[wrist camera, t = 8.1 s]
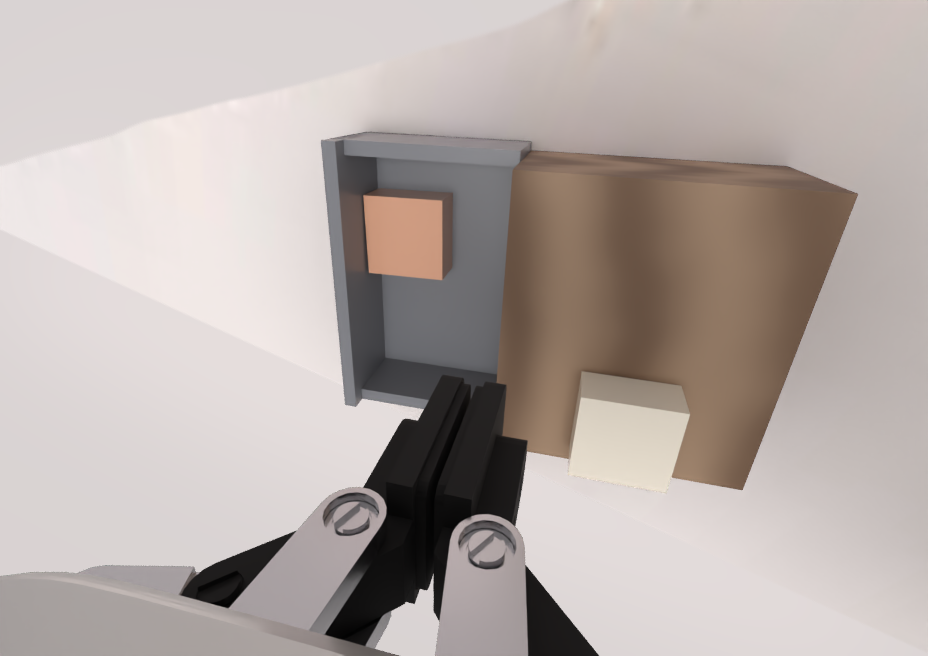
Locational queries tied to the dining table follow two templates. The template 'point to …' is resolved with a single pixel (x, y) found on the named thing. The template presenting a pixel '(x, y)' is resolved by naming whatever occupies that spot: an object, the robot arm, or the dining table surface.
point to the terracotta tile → (409, 232)
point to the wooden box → (661, 292)
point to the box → (418, 299)
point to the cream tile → (627, 431)
